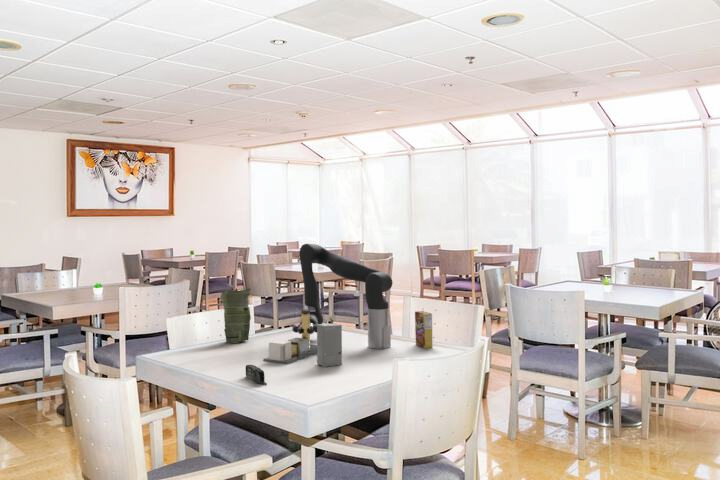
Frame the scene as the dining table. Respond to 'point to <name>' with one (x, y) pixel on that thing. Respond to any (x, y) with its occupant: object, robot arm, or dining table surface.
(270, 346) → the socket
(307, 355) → the grey base with blocks
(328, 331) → the skincare box
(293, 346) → the yellow angular piece
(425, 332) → the candy box
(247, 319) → the pouch
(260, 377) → the mobile phone
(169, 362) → the dining table surface
